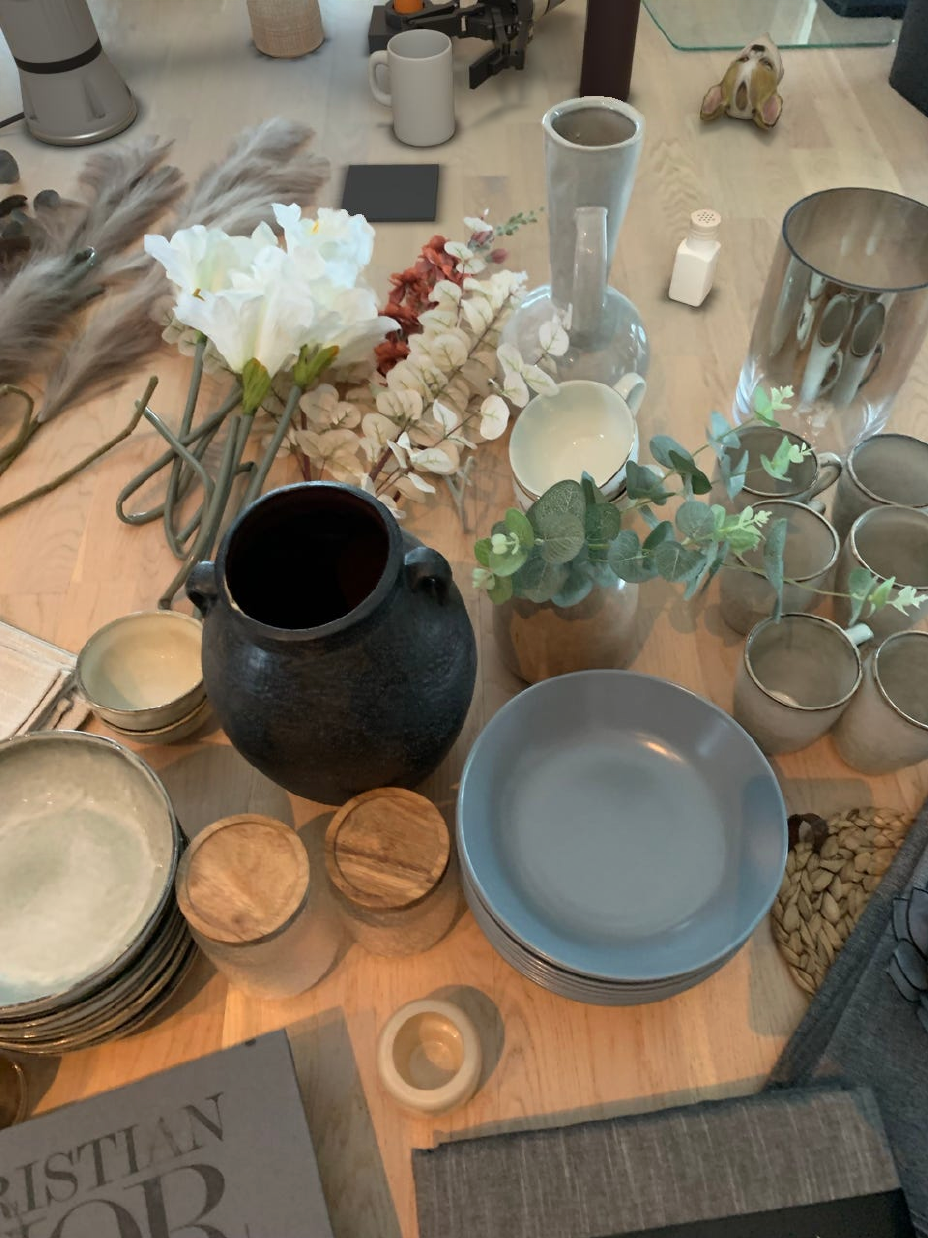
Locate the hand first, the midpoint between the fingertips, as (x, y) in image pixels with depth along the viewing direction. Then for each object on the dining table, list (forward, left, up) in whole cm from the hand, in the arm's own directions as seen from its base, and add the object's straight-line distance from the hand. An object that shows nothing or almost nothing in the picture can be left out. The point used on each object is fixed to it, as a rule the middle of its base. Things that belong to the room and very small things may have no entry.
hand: (429, 65), depth 117 cm
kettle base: (-4, +23, -6) cm, 24 cm away
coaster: (-4, -20, -6) cm, 21 cm away
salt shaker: (+32, -41, -7) cm, 52 cm away
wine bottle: (+25, +4, -7) cm, 26 cm away
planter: (-23, +22, -7) cm, 33 cm away
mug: (-2, -4, -7) cm, 8 cm away
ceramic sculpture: (+44, -1, -7) cm, 44 cm away
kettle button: (-4, +23, -2) cm, 24 cm away
